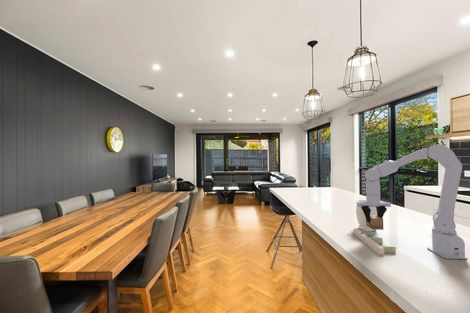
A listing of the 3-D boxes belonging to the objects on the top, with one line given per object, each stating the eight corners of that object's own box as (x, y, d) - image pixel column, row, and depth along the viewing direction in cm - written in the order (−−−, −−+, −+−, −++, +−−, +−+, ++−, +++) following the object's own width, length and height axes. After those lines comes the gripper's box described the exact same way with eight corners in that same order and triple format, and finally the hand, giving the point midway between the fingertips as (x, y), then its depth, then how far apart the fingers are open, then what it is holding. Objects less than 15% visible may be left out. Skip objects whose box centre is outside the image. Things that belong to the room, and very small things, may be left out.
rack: (398, 255, 87) (398, 247, 87) (379, 254, 88) (378, 247, 88) (368, 233, 111) (368, 228, 111) (353, 233, 112) (353, 227, 112)
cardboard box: (383, 229, 100) (383, 218, 100) (373, 229, 100) (372, 218, 101) (375, 225, 106) (375, 214, 107) (366, 225, 107) (365, 214, 107)
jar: (367, 233, 112) (366, 204, 112) (352, 227, 122) (351, 200, 122) (383, 230, 115) (382, 202, 115) (367, 225, 125) (366, 199, 125)
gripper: (384, 192, 107) (385, 219, 107) (353, 192, 109) (354, 219, 109) (393, 194, 100) (394, 223, 100) (360, 194, 102) (360, 223, 102)
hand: (373, 221), depth 104 cm, fingers closed on cardboard box, 4 cm apart
